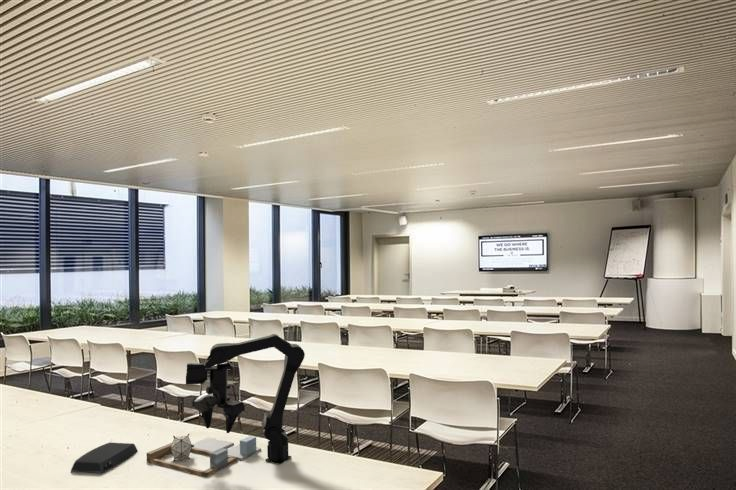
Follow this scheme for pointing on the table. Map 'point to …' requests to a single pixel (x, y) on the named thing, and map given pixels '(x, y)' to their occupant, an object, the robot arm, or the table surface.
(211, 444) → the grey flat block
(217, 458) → the wooden tray frame
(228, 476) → the table surface
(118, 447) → the external hard drive
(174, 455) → the game die
